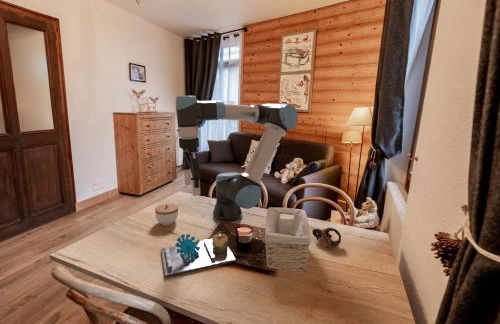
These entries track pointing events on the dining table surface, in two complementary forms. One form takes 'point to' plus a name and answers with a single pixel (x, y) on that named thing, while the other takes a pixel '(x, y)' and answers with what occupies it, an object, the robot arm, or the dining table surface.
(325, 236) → the dark brown ring ornament
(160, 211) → the lidded jar
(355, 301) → the dining table surface
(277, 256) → the storage basket
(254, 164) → the robot arm
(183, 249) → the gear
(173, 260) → the board
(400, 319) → the dining table surface
